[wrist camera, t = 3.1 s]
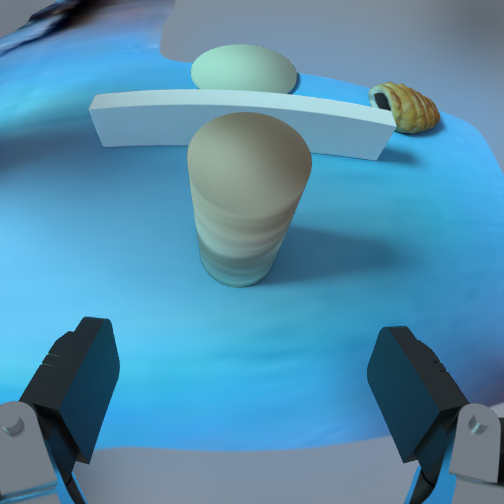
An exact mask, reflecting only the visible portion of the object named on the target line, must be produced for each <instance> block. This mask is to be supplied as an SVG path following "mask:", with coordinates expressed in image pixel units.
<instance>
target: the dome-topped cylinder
mask: <svg viewBox="0 0 504 504" xmlns="http://www.w3.org/2000/svg"><path fill="white" fill-rule="evenodd" d="M187 162H188V171H189V179H190V186H191V194H192V201H193V209H194V216H195V223H196V230H197V236H198V243H199V250H200V256H201V261H202V264H203V266H204V268H205V270H206V271H207V273H208V274H209V275H210V276H211V277H212V278H213V279H215V280H216V281H217V282H219V283H221V284H224V285H226V286H230V287H246V286H250V285H253V284H255V283H257V282H259V281H260V280H262V279H263V278H264V277H265V276H266V275H267V274H268V273H269V271H270V270H271V268H272V266H273V263H274V261H275V258H276V256H277V254H278V251H279V249H280V247H281V244H282V242H283V239H284V237H285V235H286V232H287V230H288V227H289V225H290V223H291V220H292V218H293V215H294V213H295V210H296V208H297V206H298V203H299V201H300V198H301V196H302V193H303V191H304V188H305V186H306V183H307V181H308V179H309V176H310V173H311V167H312V158H311V154H310V150H309V148H308V146H307V144H306V142H305V140H304V139H303V138H302V136H301V135H300V134H299V133H298V132H297V131H296V130H295V129H294V128H292V127H291V126H290V125H288V124H287V123H285V122H283V121H281V120H279V119H277V118H275V117H272V116H269V115H265V114H261V113H254V112H237V113H231V114H226V115H223V116H220V117H217V118H215V119H213V120H211V121H209V122H208V123H206V124H205V125H204V126H202V127H201V128H200V129H199V130H198V131H197V132H196V134H195V135H194V136H193V138H192V140H191V142H190V144H189V147H188V151H187Z"/></svg>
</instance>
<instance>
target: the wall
mask: <svg viewBox="0 0 504 504" xmlns="http://www.w3.org/2000/svg"><path fill="white" fill-rule="evenodd" d="M237 112H254V113H261V114H265V115H269V116H272V117H275V118H277V119H279V120H281V121H283V122H285V123H287V124H288V125H290V126H291V127H292V128H294V129H295V130H296V131H297V132H298V133H299V134H300V135H301V136H302V138H303V139H304V140H305V142H306V144H307V146H308V148H309V150H310V152H311V153H321V154H329V155H338V156H346V157H353V158H361V159H367V160H374V161H376V160H377V159H378V157H379V155H380V154H381V152H382V150H383V149H384V147H385V145H386V144H387V142H388V141H389V139H390V137H391V136H392V134H393V132H394V131H395V129H396V127H397V126H396V123H395V121H394V118H393V115H392V113H391V111H387V110H383V109H378V108H373V107H369V106H363V105H358V104H353V103H347V102H341V101H335V100H329V99H322V98H315V97H307V96H299V95H290V94H280V93H269V92H256V91H240V90H213V89H173V90H147V91H131V92H118V93H107V94H98V95H95V97H94V99H93V101H92V103H91V105H90V107H89V113H90V115H91V118H92V121H93V123H94V126H95V128H96V131H97V133H98V136H99V138H100V141H101V143H102V145H103V147H119V146H154V145H189V144H190V142H191V140H192V138H193V136H194V135H195V134H196V132H197V131H198V130H199V129H200V128H201V127H202V126H204V125H205V124H206V123H208V122H209V121H211V120H213V119H215V118H217V117H220V116H223V115H226V114H231V113H237Z"/></svg>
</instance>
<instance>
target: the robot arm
mask: <svg viewBox="0 0 504 504" xmlns="http://www.w3.org/2000/svg"><path fill="white" fill-rule="evenodd" d="M119 371H120V362H119V356H118V352H117V347H116V343H115V338H114V333H113V328H112V324H111V321H110V320H109V319H103V318H94V317H84V318H83V319H82V320H81V322H80V323H79V325H78V326H77V328H76V330H75V331H74V332H71V331H68V332H67V333H66V334H64V335H63V336H62V337H60V338H59V339H58V340H56V341H55V343H54V345H53V346H52V348H51V349H50V351H49V352H48V355H46V357H45V358H44V360H43V361H42V365H40V366H39V368H38V369H37V371H36V373H35V374H34V376H33V378H32V379H31V381H30V383H29V384H28V386H27V388H26V389H25V391H24V393H23V394H22V396H21V398H20V399H19V401H11V402H7V403H4V404H2V405H0V504H88V502H87V500H86V498H85V496H84V494H83V492H82V490H81V488H80V486H79V483H78V481H77V479H76V477H75V475H74V473H73V471H72V470H73V467H74V464H75V461H78V462H82V463H86V464H89V463H90V460H91V457H92V454H93V450H94V447H95V444H96V441H97V438H98V435H99V432H100V429H101V426H102V423H103V420H104V417H105V414H106V411H107V408H108V405H109V402H110V400H111V397H112V394H113V391H114V389H115V386H116V383H117V380H118V377H119ZM367 379H368V383H369V385H370V388H371V390H372V392H373V394H374V396H375V399H376V401H377V403H378V405H379V408H380V410H381V412H382V414H383V417H384V419H385V421H386V424H387V426H388V428H389V430H390V433H391V435H392V437H393V440H394V442H395V444H396V447H397V449H398V451H399V454H400V456H401V459H402V461H403V463H407V462H410V461H414V460H418V461H419V464H420V465H419V467H418V468H417V469H416V472H415V474H414V477H413V480H412V483H411V486H410V489H409V492H408V494H407V497H406V499H405V502H404V504H504V418H498V417H497V415H496V414H495V413H494V412H493V411H492V410H491V409H490V408H488V407H487V406H485V405H482V404H477V403H472V404H470V403H469V402H468V400H467V399H466V397H465V396H464V394H463V393H462V391H461V390H460V389H459V387H458V386H457V384H456V383H455V381H454V380H453V378H452V377H451V376H450V374H449V373H448V372H446V369H445V367H444V366H443V364H442V363H440V360H439V359H438V357H437V356H436V355H435V353H434V352H433V351H432V349H430V348H429V347H428V346H426V345H425V344H424V343H422V342H421V341H420V340H417V339H416V338H415V336H414V335H413V334H412V332H411V331H410V330H409V328H408V327H406V326H394V327H383V328H382V329H381V330H380V332H379V335H378V338H377V341H376V344H375V347H374V350H373V353H372V355H371V358H370V361H369V364H368V368H367Z"/></svg>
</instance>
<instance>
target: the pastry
mask: <svg viewBox="0 0 504 504" xmlns="http://www.w3.org/2000/svg"><path fill="white" fill-rule="evenodd" d="M368 95H369V100H370V105H371V106H372V107H373V108H378V109H383V110H387V111H391V113H392V115H393V118H394V121H395V123H396V126H397V127H396V129H395V131H397V132H400V133H410V134H413V133H418V132H422V131H426V130H429V129H432V128H434V127H435V125H436V124H437V123H438V122H439V120H440V114H439V112H438V110H437V108H436V105H435V104H434V103H433V102H432V101H431V100H430V99H429V98H427V97H425V96H423V95H422V94H420V93H419V92H416V91H415V90H413V89H412V88H408V87H406V86H405V85H403V84H398V85H396V84H394V83H392V82H387V83H384V84H380V85H378V86H375V87H374V88H371V89H370V90H369V92H368Z"/></svg>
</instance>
